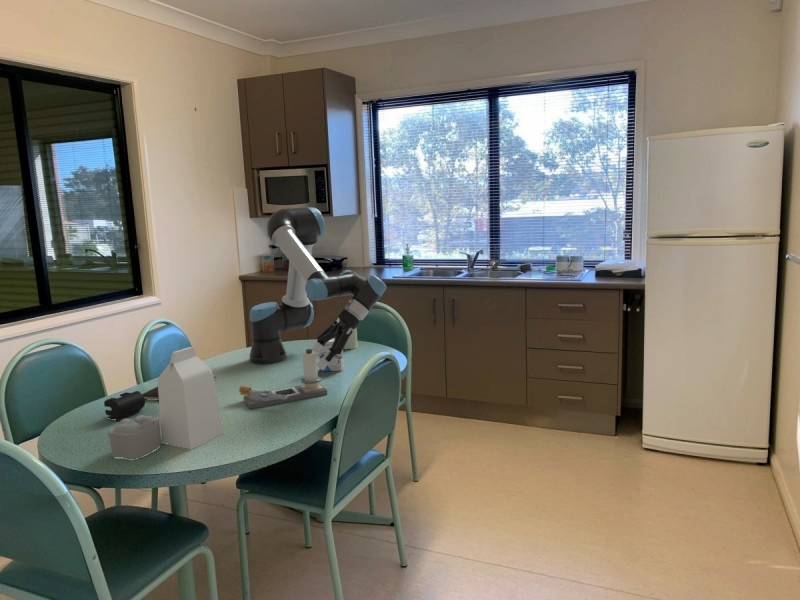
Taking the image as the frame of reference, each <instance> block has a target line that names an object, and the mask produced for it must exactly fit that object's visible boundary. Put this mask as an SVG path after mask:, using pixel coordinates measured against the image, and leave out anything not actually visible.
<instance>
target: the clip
mask: <svg viewBox="0 0 800 600" xmlns="http://www.w3.org/2000/svg"><path fill="white" fill-rule="evenodd" d="M269 391H270V390H263V391H262V390H256V389H252V387H251V386H246V385H242V386H241V385H240V386H239V389H238V392H239V393H240V395H242V396H245V395H247V396H250V395H252V394H254V395H260V396H261V397H272V398H278V399H284V400H286V399H288V397H287V395H288V394H286V395H281V394H275V393H270V392H269Z"/></svg>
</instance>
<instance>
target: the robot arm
mask: <svg viewBox="0 0 800 600" xmlns="http://www.w3.org/2000/svg"><path fill="white" fill-rule="evenodd" d="M325 229H326V223H325V218H324V217H323V214H322V212H321V211H320V210H319V209H317V208H316V207H313V206H312V207H308V206H305V207H294V208H291V207H290V208H281V209H278V210H276V211H274V212H273V213H272V214H271V215H270V217H269V218H268V221H267V225H266V232H267V235H268V238H269V240H270V242H271V243H272V244H273V245H274V246H275V247H278V248H279V249H280V250H281V252H282V253H283V254H284V255H285V257H286V258H287V260H288V261H289V262H288V263H289V264H288V274H287V284H286V293H285V295H283V296H282V299H281V304H278V303H277V302H276V301H269V302H264V303H263V302H262V303H260V304H257V305H254V306H253V307H251V309H250V310H249V322H250V331H251V340H252V342H251V343H252V344H251V347H250V351H249V355H248V356H249V362H250V363H251V364H256V365H269V364H275V363H279V362H283V361H285V360H286V359H287V351H286V349H285V347H284V344H283V342H282V339H281V338H282V337H281V333H284V332H289V331H294V330H300V329H304V328H307V327H309V326H310V325H311V324H312V323H313V320H314V317H315V310H314V306H313V303H312V302H311V301H324V300H328V299H333V298H339V297H344V296H350V295H351V296H352V297H351V299H349V300H348V302H347V304H346V305H345V308H343V309H342V310H341V311H340V312H339V314H338V315H337V318H338V319H339V320H334V321H333V322H332V323H331V324H330V325H329V326H328V327H327V328H326V329H324V330H323V332H321V333H320V334H319V335H318V336H317V337H316V339H317V341H316V343H314V345H313V346H312V347H311V349H312V351H314V352H316V356H317V355H319V351H320V350H321V349H322V348H323V346H325V343H326V342H328V341H329V340H331V339H334V342H333V345H332V347H331V348H329V350H328V352H327V353H326V354H325V355H324V357H323V358H322V359H321V360H320V359H319V361H318V362H317V368H319V369H322V370H324V369H325V368H326V366H327V365H328V364H329V363H330V361H331V360H332V359H333V357H334V356H335V355H337V354H338V355H340V354H341V352H342V350H343V348H344V346H345V344H346V342H347V340H348V338H349V336H350V335H351V334H352V332H353V331H352V330H351V329H350V328H352V329H355V328H358V326H359V325H360V324H361V321H363V320H364V319H365V318H366V317H367V315H368V314H369V312H370V311H371V309H372V308H373V307H374V306H375V304H376V303H377V302H378V301H379V300H380V298H382V296H383V294H384V293H385V292H386V290H387V285H386V283H385V282H384V281H383V280H382V279H381V278H379V277H378V276H377V275H374V274H370V275H369V276H368V277H367V278H366V277H364V276H362V275H360V274H359V273H357V272H355V271H353V270H350V269H346V270H343V271H342V272H340V273H339V275H332V276H328V275H327V273H326V272H325V271H324V269H323V268H322V267H321V266H320V265H319V263H318V262H317V261H316V259H315V258H314V256H312V255H313V248H314V247H313V246H315V245H317V243H318V237H321V236H323V235H324V233H325ZM337 321H339V322H337ZM343 351H344V350H343Z"/></svg>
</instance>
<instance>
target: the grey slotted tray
mask: <svg viewBox="0 0 800 600" xmlns="http://www.w3.org/2000/svg"><path fill="white" fill-rule="evenodd" d="M318 384H319V387H318V388H315V389H306V388H305V384H301V385H294V386H290V387H284V388H278V389H273V390H268V391H269V392H270V393H275V394H281V395H284V394H286V395H287V397H288V399H286V400H284V399H278V398H272V397H261V396H260V395H254V394H252V395H250V396H247V395H243V401H244V402H246V403H245V404H246V406H247V405H248V406H247V407H248V408H250V409H249V410H253V409H259V408H264V407H269V406H274V404H275V405H279V403H280V404H283V403H284V402H285V403H290V402H295V401H300V399H301V400H304V399H305V398H306V399H309V398H310V397H311V398H315V396H316V397H321V396H324V395H325V394H326V395H328V389H327V388H326V387H324V386H323V385H322V384H321V382H318ZM290 393H291V394H290ZM320 395H321V396H320ZM326 395H325V396H326ZM294 400H295V401H294ZM289 401H290V402H289Z"/></svg>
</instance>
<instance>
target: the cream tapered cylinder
mask: <svg viewBox="0 0 800 600" xmlns="http://www.w3.org/2000/svg"><path fill="white" fill-rule="evenodd" d="M336 321H337V322H339V321H340V320H336ZM357 328H358V327H356V328H355V329H352V328H350V329H351V330H352V331H353V332H352V334H351V335H350V336H349V338H348V340H347V342H346V344H345V346H344V348H343V349H345V350H344V351H347V350H346V349H351V350H355V349H358V347H359V343H358V331H357ZM354 348H355V349H354Z"/></svg>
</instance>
